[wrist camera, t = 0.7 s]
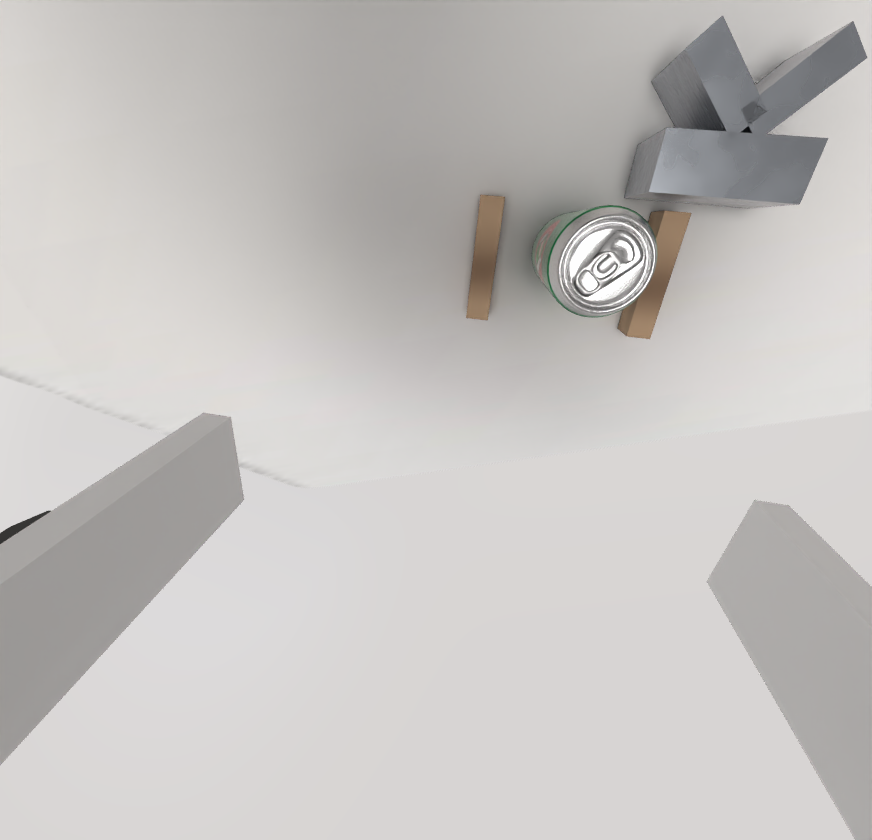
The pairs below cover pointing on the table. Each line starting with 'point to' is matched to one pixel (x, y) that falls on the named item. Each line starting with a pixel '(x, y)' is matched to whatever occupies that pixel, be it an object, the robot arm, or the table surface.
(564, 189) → the table surface
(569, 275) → the soda can
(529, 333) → the table surface
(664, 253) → the channel
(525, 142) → the table surface
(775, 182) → the v block
